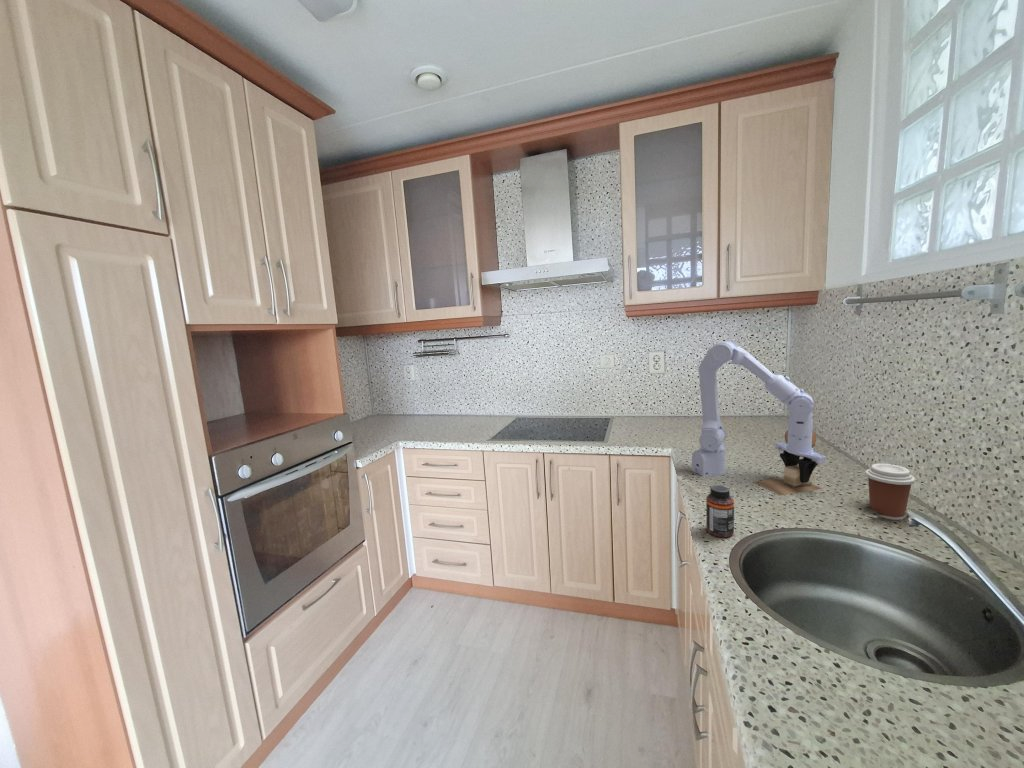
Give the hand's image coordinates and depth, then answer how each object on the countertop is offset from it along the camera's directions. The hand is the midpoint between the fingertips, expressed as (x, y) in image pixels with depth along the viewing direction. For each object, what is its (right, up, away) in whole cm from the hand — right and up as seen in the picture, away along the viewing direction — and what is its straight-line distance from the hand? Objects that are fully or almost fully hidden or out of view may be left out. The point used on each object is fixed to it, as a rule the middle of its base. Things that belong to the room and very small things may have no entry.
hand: (798, 479), depth 116 cm
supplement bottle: (-34, -8, -20) cm, 40 cm away
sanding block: (0, -1, 0) cm, 1 cm away
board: (-3, -3, 0) cm, 4 cm away
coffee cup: (+10, -5, -17) cm, 20 cm away
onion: (+23, +3, +31) cm, 39 cm away
